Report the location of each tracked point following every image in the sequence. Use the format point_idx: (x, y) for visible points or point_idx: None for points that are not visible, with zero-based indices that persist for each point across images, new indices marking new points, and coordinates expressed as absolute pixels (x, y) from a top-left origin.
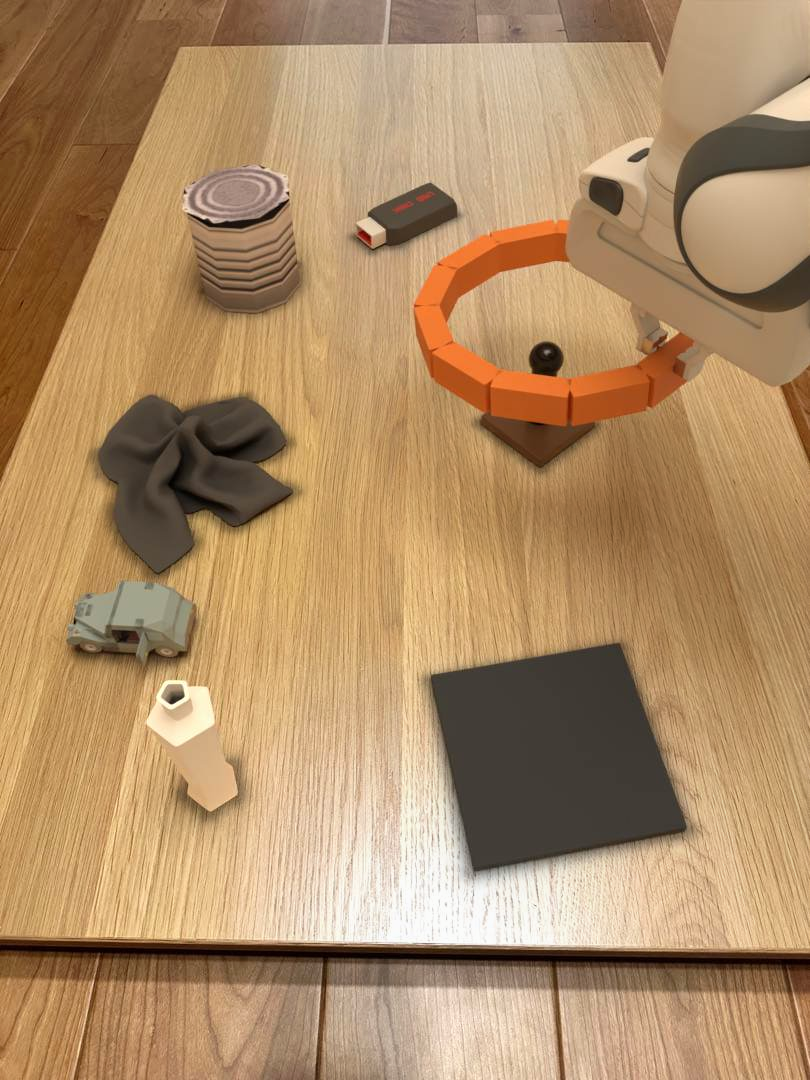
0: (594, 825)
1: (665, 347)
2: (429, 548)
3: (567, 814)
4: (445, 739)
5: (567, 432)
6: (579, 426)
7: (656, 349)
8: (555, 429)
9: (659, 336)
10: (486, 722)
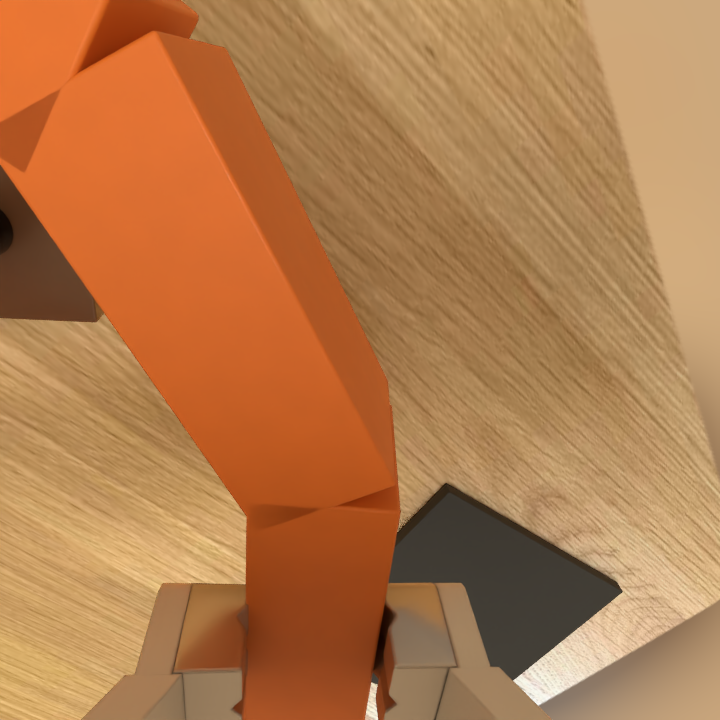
0: (539, 641)
1: (267, 622)
2: (127, 540)
3: (511, 650)
4: None
5: None
6: None
7: (246, 649)
8: (42, 233)
9: (229, 706)
10: None
